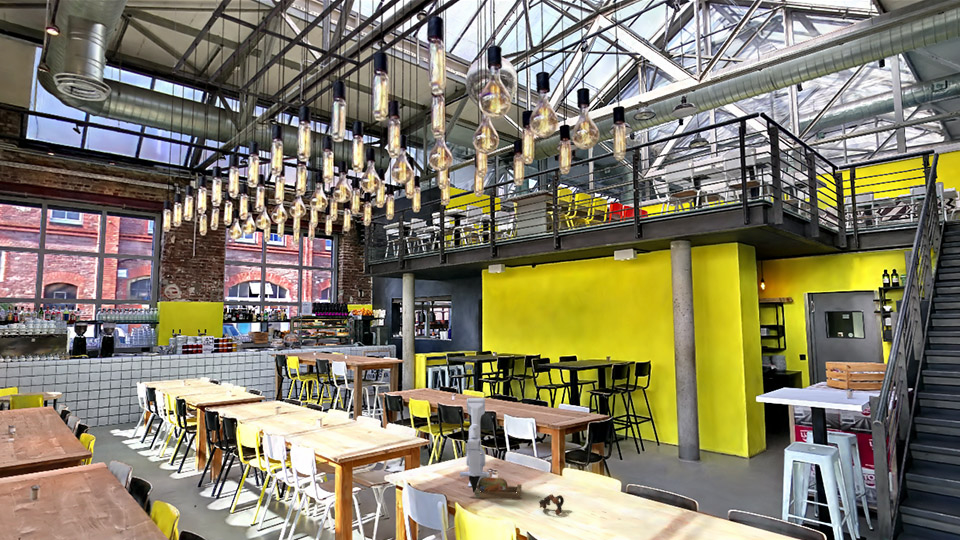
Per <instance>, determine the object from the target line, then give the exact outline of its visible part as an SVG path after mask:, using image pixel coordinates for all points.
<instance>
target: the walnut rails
mask: <svg viewBox="0 0 960 540" xmlns="http://www.w3.org/2000/svg"><path fill="white" fill-rule="evenodd" d="M522 486H523V485H522V484H519V483H518V484H517V486H512V485H511V486H510V485H509V486H508V490H507V492H480V490H479V487H478V484H477V488H476V490H475V493H474V498H475V499H476V498H477V499H502V498H512V500H522V493H523V491H522V489H523V488H522ZM516 492H517V493H516ZM515 498H516V499H515Z"/></svg>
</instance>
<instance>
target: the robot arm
mask: <svg viewBox="0 0 960 540" xmlns="http://www.w3.org/2000/svg"><path fill="white" fill-rule="evenodd" d="M466 412H467V414H468V415H470V416H471V417H470V419H471V425H470V426H469V429H468V439H467V451H466V462H465V463H466V466H467V467H468V471H460V472H459V478H463V477H464V478H465V477H467V478H468V480H469V482H468V484H467V487H468V488H472V492H473V493H474V494H475V490H477V484H478V483H479V481H480V479H481V478H483V477H487V478H489V477H490V472H486V471H484V467H485V466H486V451H485V449H483V448H482V440H481V439H482V438H481V420H482V419H481V418H482V416H483V415H484V414H485V412H486V399H485V398H484V397H483V398H482V397H480V398H479V397H477V398H476V397H475V398H472V397H471V398H469V397H467V399H466Z"/></svg>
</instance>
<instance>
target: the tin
mask: <svg viewBox="0 0 960 540" xmlns="http://www.w3.org/2000/svg"><path fill="white" fill-rule="evenodd" d="M478 487H479V490H480V491H481V492H507V490H508V482H507V481H506V480H505V479H504V477H503V478H502V477H497V476H495V477H494V476H489V478H487V477H483V478H481V479H480V481H479V483H478Z"/></svg>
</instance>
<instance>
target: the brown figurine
mask: <svg viewBox="0 0 960 540" xmlns="http://www.w3.org/2000/svg"><path fill="white" fill-rule="evenodd" d="M564 499H565V498H564V497H563V496H562V495H557V496H554V495H553V493H551V494H549V495H547V496H545V497H544V498H543V499H541V500H540V501H538V504H539V508H540V509H541V508H542V509H544V510H545V509H546V508H547V507H548V506H551V502H552V504H553V505H555V506H556V507H557V508H556V509H555V510H554V512H555V515H556V516H559V515H560V514H561V513H563V509H562V506H563V504H565V503H564V502H565V500H564Z"/></svg>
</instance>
